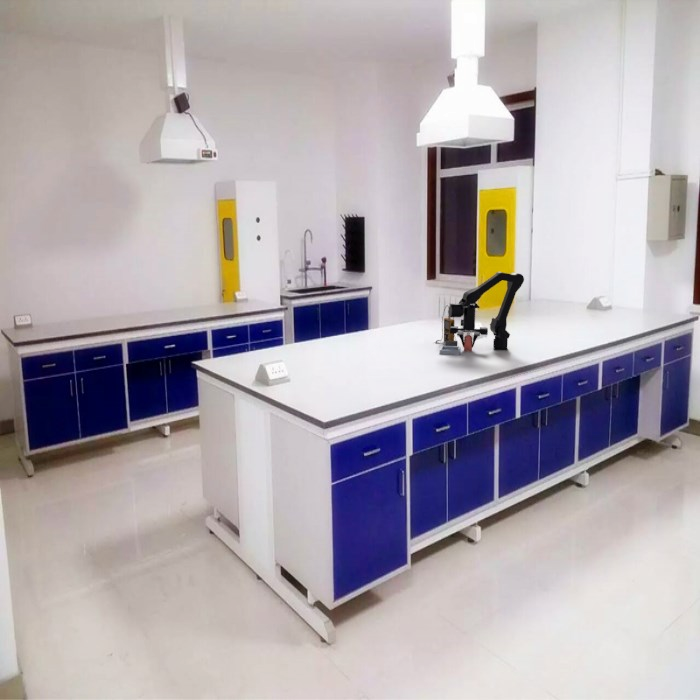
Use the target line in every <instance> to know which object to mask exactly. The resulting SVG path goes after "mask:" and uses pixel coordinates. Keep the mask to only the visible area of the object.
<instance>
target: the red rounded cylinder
mask: <svg viewBox="0 0 700 700" xmlns="http://www.w3.org/2000/svg"><path fill="white" fill-rule="evenodd" d="M470 333H471V332H466V335H465V336H464V347H463V351H464V352H472V351H473V348H472V343H473V336H472V335H471V334H470Z"/></svg>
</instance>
